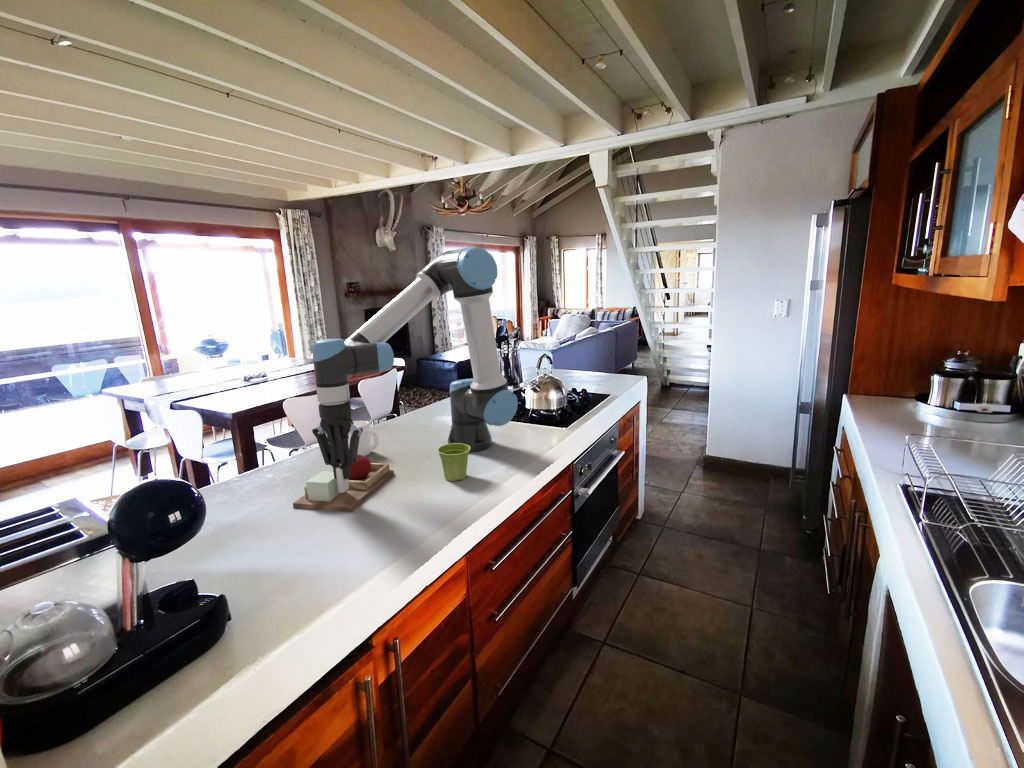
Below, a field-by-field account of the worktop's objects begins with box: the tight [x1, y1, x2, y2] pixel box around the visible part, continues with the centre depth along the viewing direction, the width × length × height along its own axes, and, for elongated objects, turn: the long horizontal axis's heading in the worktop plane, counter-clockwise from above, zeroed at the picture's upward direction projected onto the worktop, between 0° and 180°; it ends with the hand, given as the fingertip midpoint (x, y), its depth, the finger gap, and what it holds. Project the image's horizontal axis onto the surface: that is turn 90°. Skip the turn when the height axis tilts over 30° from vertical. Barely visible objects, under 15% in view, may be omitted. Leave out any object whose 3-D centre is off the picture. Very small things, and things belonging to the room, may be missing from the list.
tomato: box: [348, 454, 372, 481], centre depth 132 cm, size 8×8×7 cm
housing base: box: [292, 462, 395, 513], centre depth 128 cm, size 16×24×4 cm, turn 169°
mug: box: [348, 420, 379, 457], centre depth 155 cm, size 12×8×10 cm
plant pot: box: [437, 443, 471, 482], centre depth 133 cm, size 9×9×9 cm
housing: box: [305, 470, 341, 502], centre depth 122 cm, size 6×7×5 cm
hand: (343, 490), depth 121 cm, fingers closed
